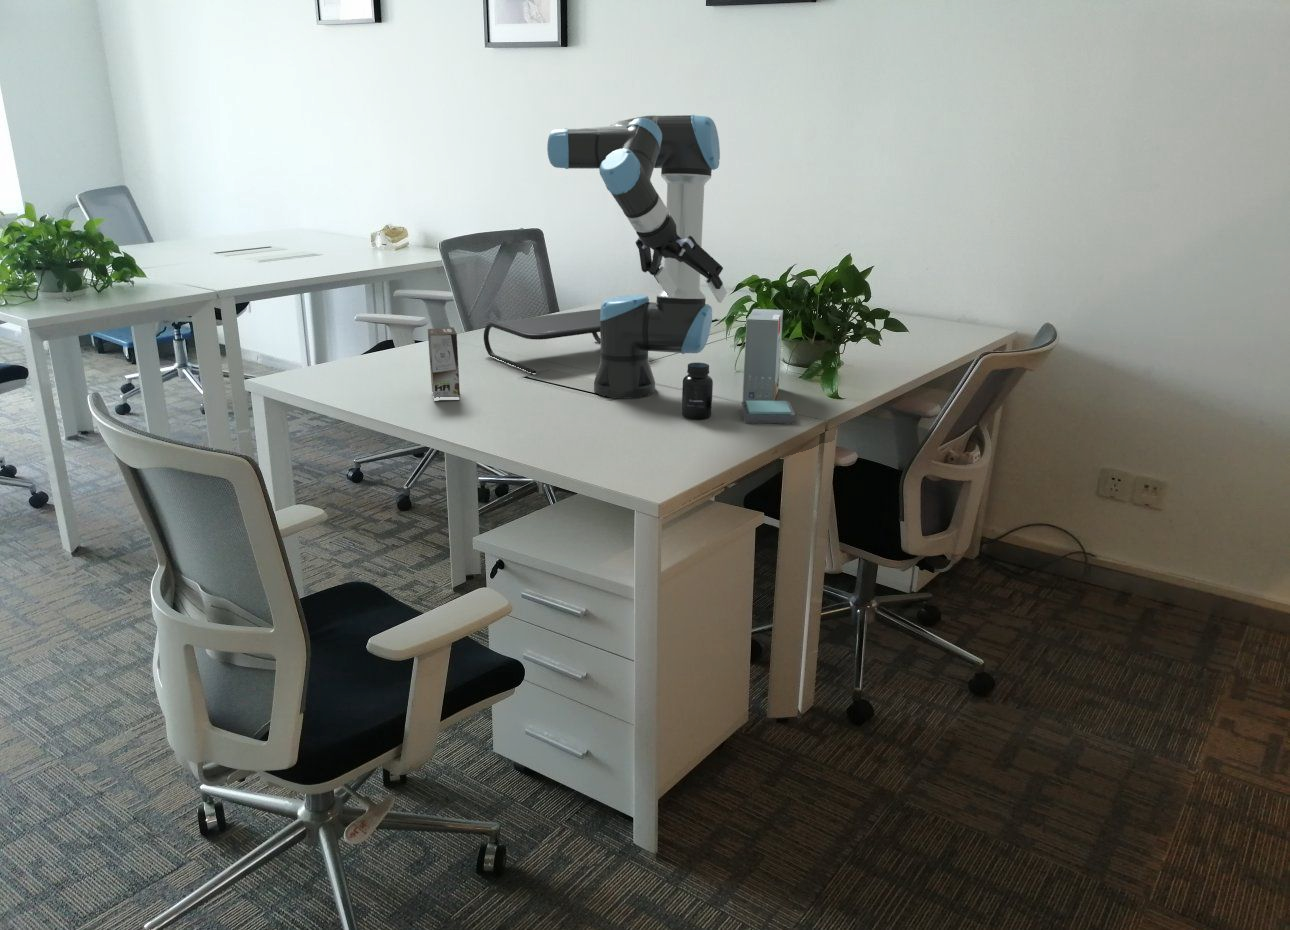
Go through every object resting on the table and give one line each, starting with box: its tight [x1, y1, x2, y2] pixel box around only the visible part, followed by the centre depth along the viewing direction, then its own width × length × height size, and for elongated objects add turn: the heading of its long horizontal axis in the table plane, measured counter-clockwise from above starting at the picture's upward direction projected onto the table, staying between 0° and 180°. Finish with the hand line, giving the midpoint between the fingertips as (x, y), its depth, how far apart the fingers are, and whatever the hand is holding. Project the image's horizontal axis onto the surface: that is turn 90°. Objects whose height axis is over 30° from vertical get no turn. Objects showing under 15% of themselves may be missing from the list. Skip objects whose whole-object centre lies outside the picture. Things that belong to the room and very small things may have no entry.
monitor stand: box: [483, 308, 601, 373], centre depth 288 cm, size 37×28×11 cm
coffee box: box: [427, 326, 461, 399], centre depth 246 cm, size 9×6×16 cm
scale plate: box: [745, 400, 791, 414], centre depth 232 cm, size 9×9×1 cm
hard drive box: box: [742, 308, 784, 402], centre depth 247 cm, size 16×8×20 cm, turn 168°
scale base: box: [741, 401, 796, 425], centre depth 232 cm, size 11×11×2 cm
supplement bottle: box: [681, 362, 714, 421], centre depth 231 cm, size 7×7×12 cm
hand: (697, 295), depth 216 cm, fingers open, 13 cm apart
